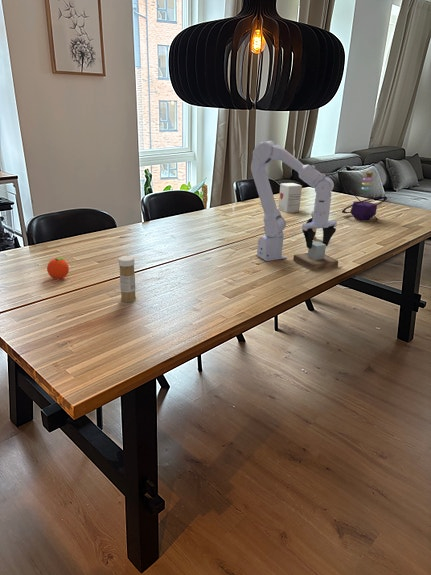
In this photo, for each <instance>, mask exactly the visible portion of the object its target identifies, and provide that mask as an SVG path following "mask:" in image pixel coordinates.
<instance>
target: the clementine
mask: <svg viewBox="0 0 431 575" xmlns="http://www.w3.org/2000/svg"><path fill="white" fill-rule="evenodd" d="M46 270H47V273H48V275H49V277H50V278H52V279H54V280H61V279H64V278H65V277H67V275H68V274H69V271H70V267H69V264H68V261H66V258H64V257H58V258H53V259H51V260H50V261H49V262H48V263H47V266H46Z"/></svg>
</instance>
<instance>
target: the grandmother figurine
mask: <svg viewBox="0 0 431 575" xmlns="http://www.w3.org/2000/svg"><path fill="white" fill-rule="evenodd" d="M313 212H314V210H312V212H310V216H311V217H310V218H309V219H308V220H307V221H306V223H305V224H307V223H310V222H312V220H313ZM312 230H313V231H314V232H316V234H315V236H314V239H313V240H315V239H317V238H316V235H317V229H312Z"/></svg>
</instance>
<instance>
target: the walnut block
mask: <svg viewBox="0 0 431 575" xmlns="http://www.w3.org/2000/svg"><path fill="white" fill-rule="evenodd" d="M292 261H293V262H295V263H296V264H298V265H300V266H302V267H304V268H306V269H308V270H310V271H312V272H313V271H321V270H326V269H332V268H337V267H338V266H339V260H338V259H336V258H334V257H332V256H330V255H327V254H325V257H324V259H319V260H314V259H312V258H310V257H308V252H305V253H298V254H293V259H292Z"/></svg>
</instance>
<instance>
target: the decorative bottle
mask: <svg viewBox="0 0 431 575" xmlns="http://www.w3.org/2000/svg"><path fill="white" fill-rule="evenodd" d="M373 173H374V172H373V171H365V177H363V178H362V180H363V181H364V182H361V184H362V187H361V190H363V191H368V192H369V191H371V190H373V188H372V187H371V186H373V185H374V184H373V183H372V182H373V181H374V180H375V179H374V178H372V176H373ZM363 186H364V187H363ZM349 191H350V193H351V194H352V195H353V196H354V197H355V198H356V199H357V200H356V201H353V203H352V204H351V205H349V206H346V207H345V208H344V209H342V211H341V213H342V214H351V216H352V217H353V218H354V219H355V220H357V221H361V222H364V221H370V219H372V218H373V217H374V218H375V219H376V220H377V221H379V218H377V217H376V214H377V209H378V208H377V207H378V205H381V204H382V203H384V202H385V201H387V199H388V197H387V196H375V197H372V198H366V199H364V200H361V199H360V198H359V197H357V196H356V194H355V193H354V192H352V190H349ZM377 199H383V200H382V201H380V202H379V203H374V202H371V200H377ZM350 207H351V209H350ZM347 209H350V211H346V210H347Z"/></svg>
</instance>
